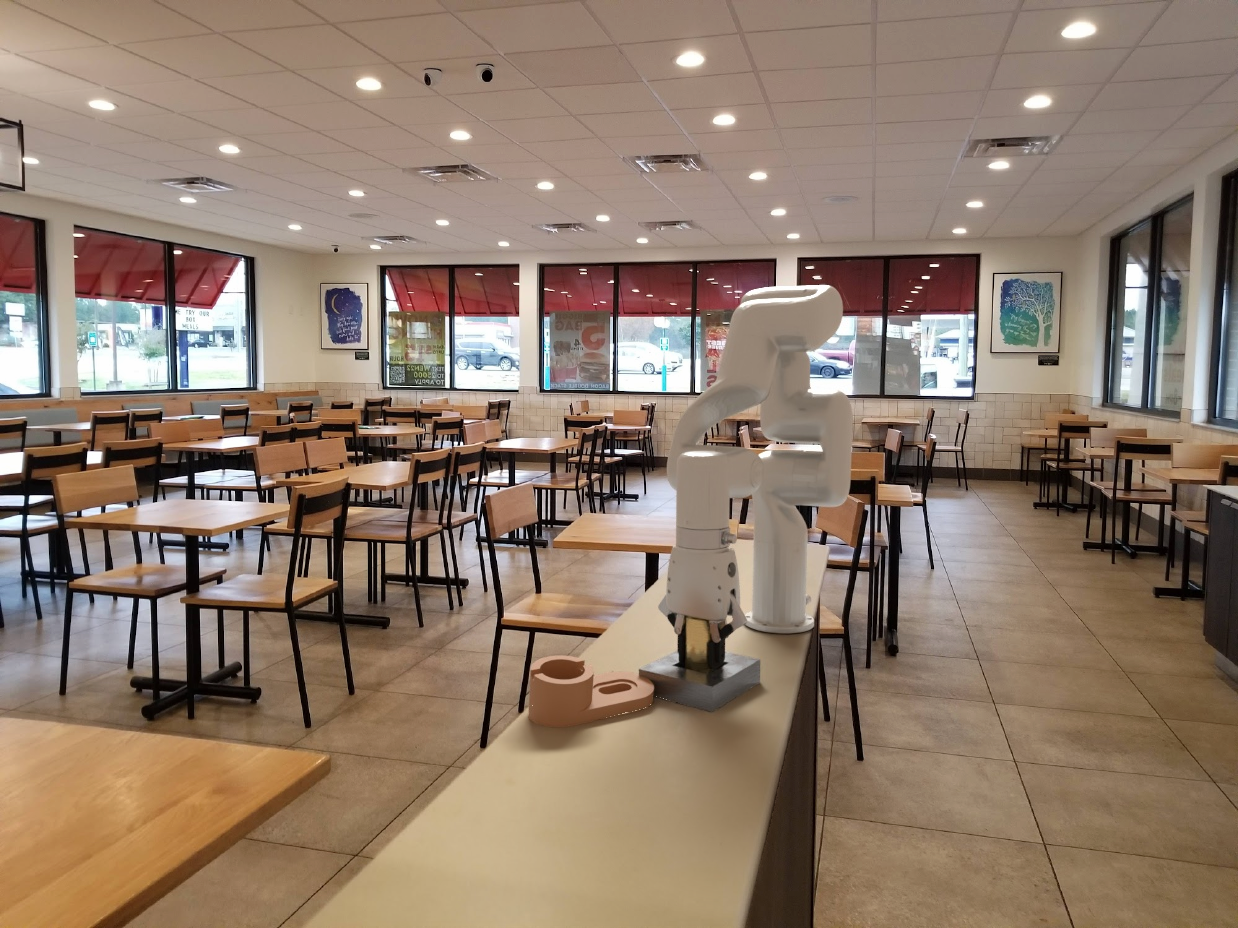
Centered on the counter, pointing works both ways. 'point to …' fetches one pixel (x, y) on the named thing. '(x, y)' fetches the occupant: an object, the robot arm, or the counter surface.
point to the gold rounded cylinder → (697, 644)
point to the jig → (702, 680)
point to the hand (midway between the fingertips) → (700, 661)
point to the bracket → (582, 692)
